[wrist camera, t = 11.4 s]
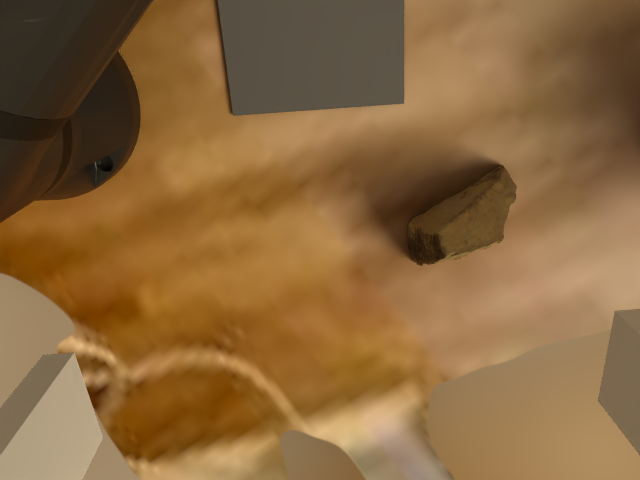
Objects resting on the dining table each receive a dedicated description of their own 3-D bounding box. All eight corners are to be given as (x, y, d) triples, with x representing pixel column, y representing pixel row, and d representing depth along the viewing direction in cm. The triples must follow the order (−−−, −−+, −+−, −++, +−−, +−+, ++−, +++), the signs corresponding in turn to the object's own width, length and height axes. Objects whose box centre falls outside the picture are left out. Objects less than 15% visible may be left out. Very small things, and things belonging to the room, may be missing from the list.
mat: (233, 114, 41) (233, 115, 40) (215, -22, 37) (214, -22, 36) (403, 102, 41) (404, 103, 40) (403, -36, 37) (404, -36, 36)
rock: (525, 134, 39) (405, 160, 39) (577, 222, 35) (444, 253, 35) (491, 208, 49) (394, 230, 48) (528, 284, 45) (423, 310, 44)
